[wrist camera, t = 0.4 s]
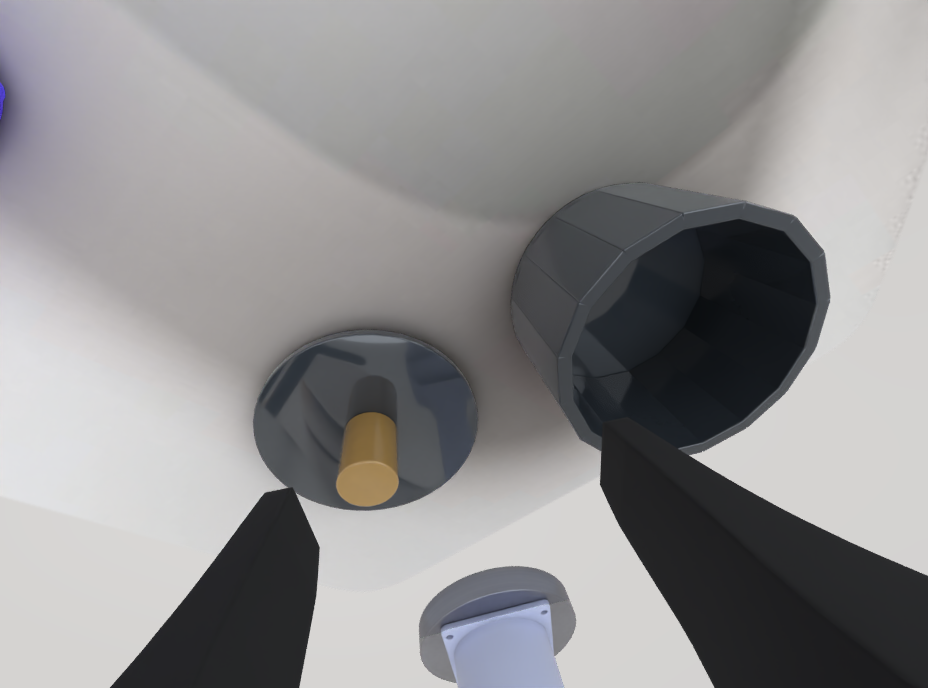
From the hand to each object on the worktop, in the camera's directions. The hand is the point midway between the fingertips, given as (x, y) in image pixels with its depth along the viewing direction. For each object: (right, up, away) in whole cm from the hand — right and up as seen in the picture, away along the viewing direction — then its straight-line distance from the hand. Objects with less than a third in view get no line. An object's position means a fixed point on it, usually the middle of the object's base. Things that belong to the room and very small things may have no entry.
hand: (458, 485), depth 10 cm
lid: (-4, -1, +10) cm, 10 cm away
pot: (+7, +6, +9) cm, 13 cm away
